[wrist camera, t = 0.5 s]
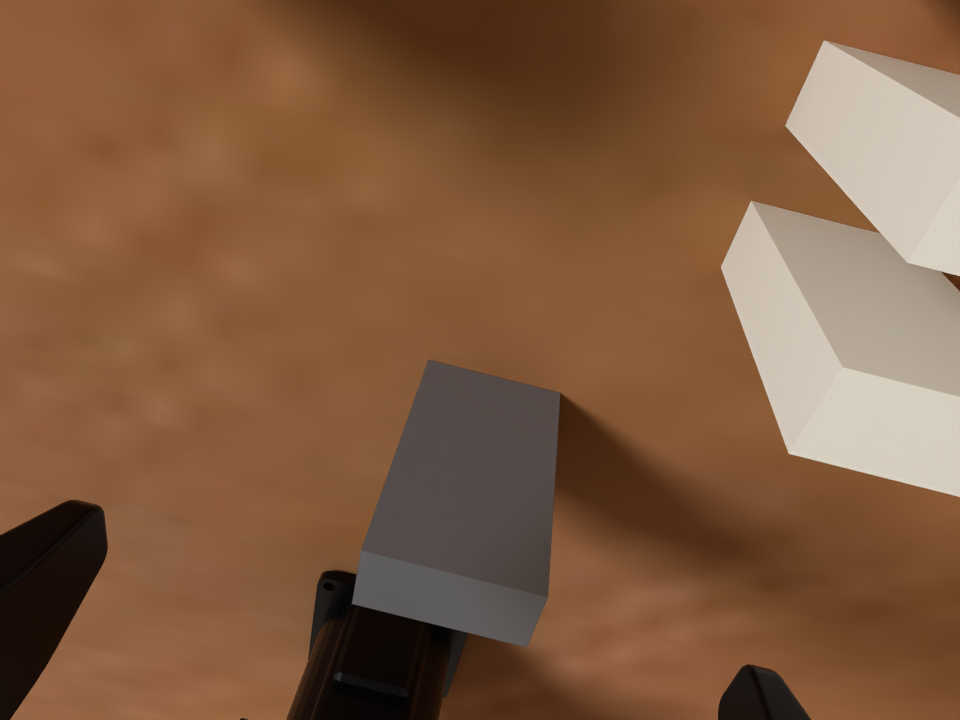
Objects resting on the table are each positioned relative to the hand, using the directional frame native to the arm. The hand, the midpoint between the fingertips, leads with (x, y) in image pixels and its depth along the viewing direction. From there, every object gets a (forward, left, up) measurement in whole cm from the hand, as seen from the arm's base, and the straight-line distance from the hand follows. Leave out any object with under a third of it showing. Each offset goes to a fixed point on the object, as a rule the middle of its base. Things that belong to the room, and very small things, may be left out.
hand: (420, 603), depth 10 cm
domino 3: (+2, -8, -13) cm, 15 cm away
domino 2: (+6, -8, -13) cm, 16 cm away
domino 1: (-6, -1, -13) cm, 14 cm away
